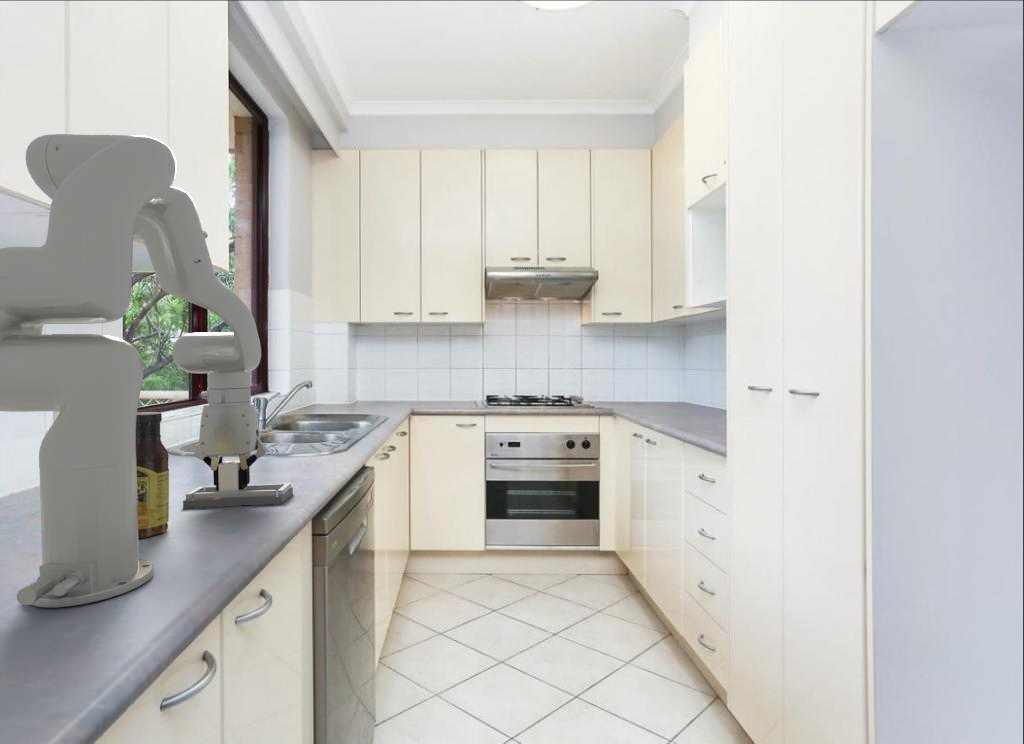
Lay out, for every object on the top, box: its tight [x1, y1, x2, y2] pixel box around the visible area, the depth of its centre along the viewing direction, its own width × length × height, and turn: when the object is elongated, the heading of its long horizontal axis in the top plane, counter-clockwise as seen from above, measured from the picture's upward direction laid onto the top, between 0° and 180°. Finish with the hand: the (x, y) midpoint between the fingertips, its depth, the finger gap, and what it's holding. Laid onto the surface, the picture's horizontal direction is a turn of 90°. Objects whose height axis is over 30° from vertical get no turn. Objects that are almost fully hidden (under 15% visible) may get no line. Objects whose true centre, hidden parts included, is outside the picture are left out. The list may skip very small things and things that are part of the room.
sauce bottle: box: [136, 411, 170, 539], centre depth 87 cm, size 6×6×20 cm
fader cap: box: [218, 460, 244, 492], centre depth 107 cm, size 4×4×6 cm
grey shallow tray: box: [182, 482, 294, 509], centre depth 108 cm, size 8×18×2 cm, turn 98°
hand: (232, 487), depth 108 cm, fingers closed on fader cap, 3 cm apart
